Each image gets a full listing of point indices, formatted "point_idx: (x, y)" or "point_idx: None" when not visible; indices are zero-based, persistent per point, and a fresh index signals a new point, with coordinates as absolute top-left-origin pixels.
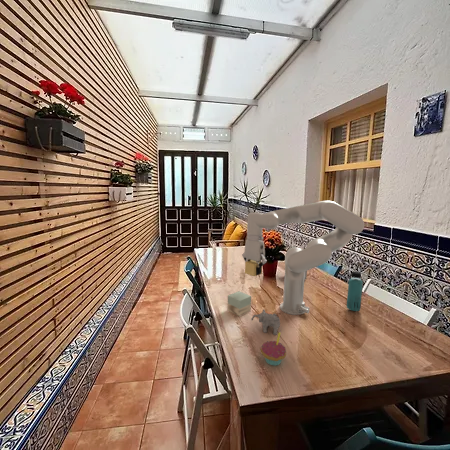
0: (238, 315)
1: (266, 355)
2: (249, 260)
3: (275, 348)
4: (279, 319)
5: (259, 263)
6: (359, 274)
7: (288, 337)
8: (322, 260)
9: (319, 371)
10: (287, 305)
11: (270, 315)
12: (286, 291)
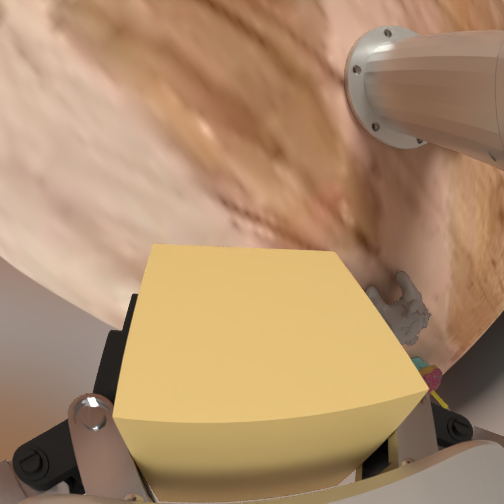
0: None
1: None
2: (106, 452)
3: (429, 396)
4: (429, 315)
5: (385, 433)
6: None
7: (430, 287)
8: None
9: (473, 323)
10: (414, 137)
11: (408, 340)
12: (458, 150)
